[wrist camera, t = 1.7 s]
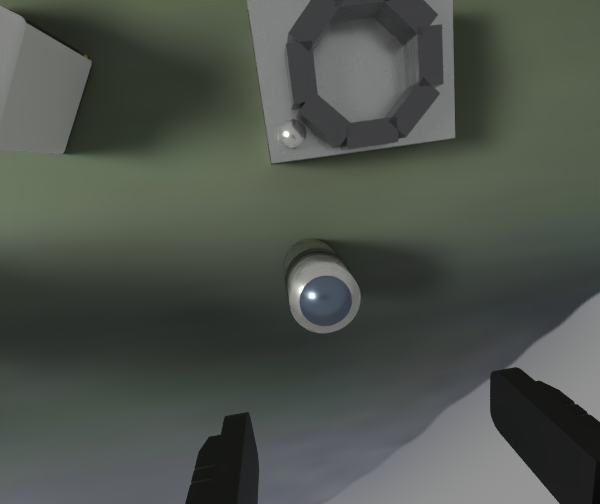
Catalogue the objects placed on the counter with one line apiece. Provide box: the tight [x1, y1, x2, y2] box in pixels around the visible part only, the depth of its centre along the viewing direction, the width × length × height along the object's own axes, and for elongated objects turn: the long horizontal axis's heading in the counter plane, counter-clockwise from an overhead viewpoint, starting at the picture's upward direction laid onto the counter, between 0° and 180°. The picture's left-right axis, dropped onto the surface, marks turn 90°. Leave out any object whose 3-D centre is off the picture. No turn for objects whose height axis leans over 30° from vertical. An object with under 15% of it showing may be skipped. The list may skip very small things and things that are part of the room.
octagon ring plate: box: [247, 0, 455, 165], centre depth 22 cm, size 12×9×7 cm
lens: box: [285, 239, 361, 333], centre depth 25 cm, size 5×5×8 cm
